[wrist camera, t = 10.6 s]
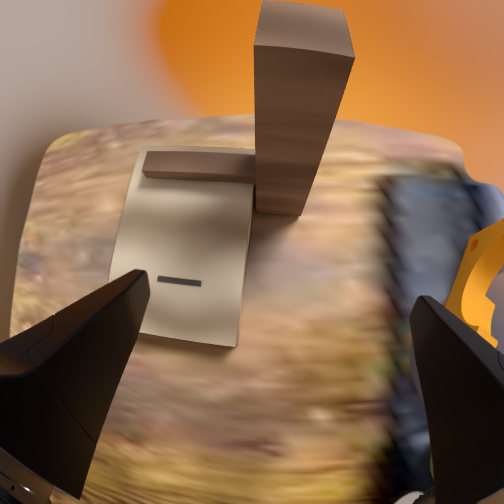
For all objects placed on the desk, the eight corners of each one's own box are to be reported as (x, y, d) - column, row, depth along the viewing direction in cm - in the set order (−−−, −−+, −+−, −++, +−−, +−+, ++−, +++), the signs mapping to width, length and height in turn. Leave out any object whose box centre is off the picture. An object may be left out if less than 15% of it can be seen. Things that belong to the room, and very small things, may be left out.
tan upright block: (300, 216, 24) (355, 57, 8) (153, 204, 24) (55, 67, 9) (302, 173, 25) (343, 9, 9) (163, 163, 25) (92, 19, 10)
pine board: (237, 344, 22) (235, 346, 19) (116, 325, 22) (101, 324, 20) (257, 165, 26) (257, 148, 23) (149, 160, 26) (141, 145, 23)
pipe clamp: (454, 369, 21) (499, 374, 15) (423, 349, 21) (468, 351, 15) (494, 260, 23) (535, 243, 17) (468, 237, 24) (508, 214, 18)
